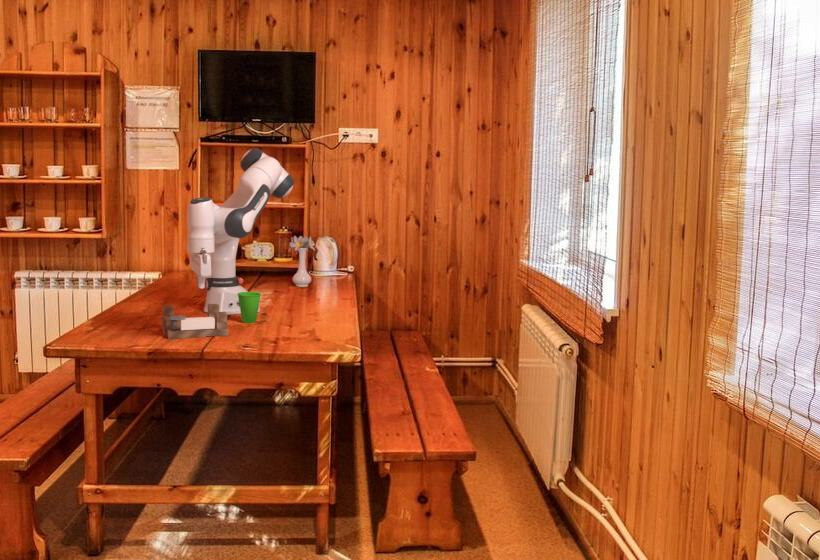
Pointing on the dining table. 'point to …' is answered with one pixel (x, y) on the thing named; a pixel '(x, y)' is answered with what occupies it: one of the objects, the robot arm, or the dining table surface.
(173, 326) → the stool board
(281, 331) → the dining table surface
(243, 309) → the cup
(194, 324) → the hinged leg
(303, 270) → the flower vase
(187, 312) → the dining table surface
